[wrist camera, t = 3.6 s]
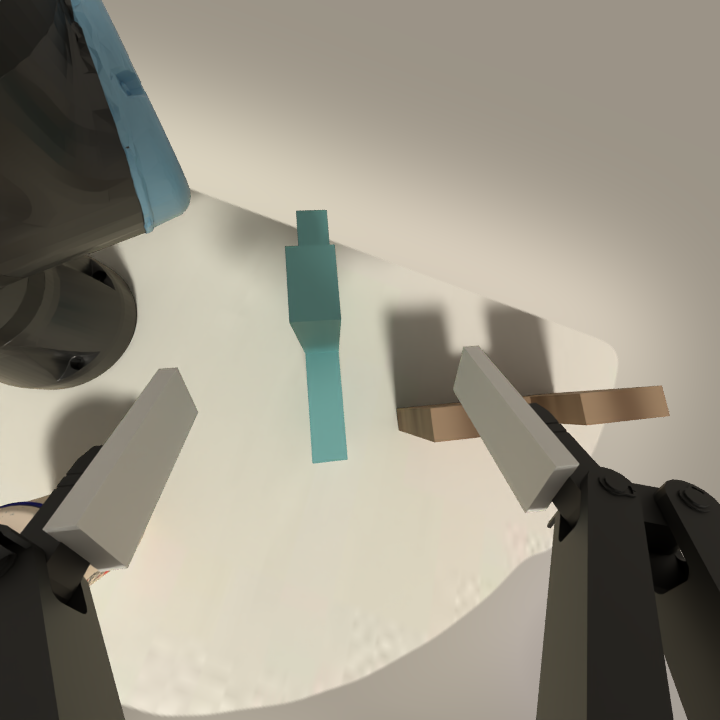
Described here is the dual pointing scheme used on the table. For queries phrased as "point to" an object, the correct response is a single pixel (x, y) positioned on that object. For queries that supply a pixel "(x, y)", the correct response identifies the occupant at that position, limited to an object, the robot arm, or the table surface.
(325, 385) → the teal slotted plate
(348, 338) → the table surface
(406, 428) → the walnut slotted plate
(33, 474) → the table surface
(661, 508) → the robot arm
